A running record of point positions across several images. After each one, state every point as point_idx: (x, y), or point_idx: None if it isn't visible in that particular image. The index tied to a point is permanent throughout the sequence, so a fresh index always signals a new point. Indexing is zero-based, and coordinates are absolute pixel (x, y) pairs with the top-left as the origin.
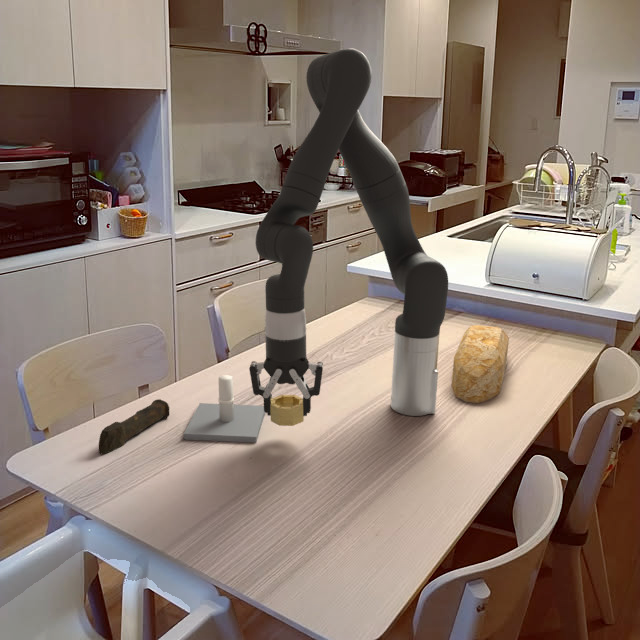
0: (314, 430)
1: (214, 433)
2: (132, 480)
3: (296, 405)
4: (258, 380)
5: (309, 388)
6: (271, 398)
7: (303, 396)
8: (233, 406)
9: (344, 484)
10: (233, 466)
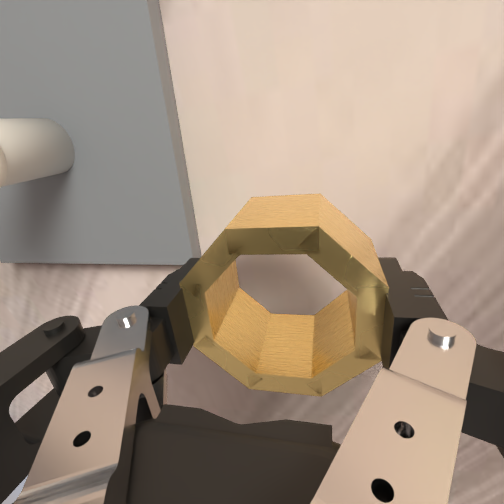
0: (402, 134)
1: (71, 254)
2: (38, 401)
3: (339, 367)
4: (21, 445)
5: (472, 391)
6: (180, 315)
7: (392, 350)
8: (9, 5)
9: (471, 438)
10: (185, 365)
